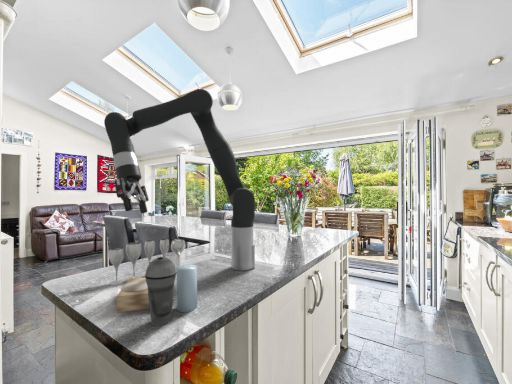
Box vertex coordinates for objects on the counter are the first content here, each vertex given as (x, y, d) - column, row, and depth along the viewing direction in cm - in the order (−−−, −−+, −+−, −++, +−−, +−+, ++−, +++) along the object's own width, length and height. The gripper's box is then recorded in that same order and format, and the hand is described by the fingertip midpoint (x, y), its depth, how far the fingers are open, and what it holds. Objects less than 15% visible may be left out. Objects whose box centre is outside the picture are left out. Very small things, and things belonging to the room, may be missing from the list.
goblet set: (111, 286, 85) (110, 247, 85) (107, 282, 90) (107, 244, 90) (187, 269, 104) (187, 237, 104) (181, 266, 108) (181, 235, 108)
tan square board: (168, 288, 83) (168, 274, 83) (164, 306, 70) (164, 290, 70) (129, 292, 80) (129, 277, 80) (116, 312, 67) (116, 295, 67)
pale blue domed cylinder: (196, 302, 72) (196, 263, 72) (197, 310, 67) (197, 269, 67) (177, 304, 71) (177, 265, 71) (176, 313, 66) (175, 271, 66)
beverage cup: (150, 314, 65) (150, 237, 65) (179, 313, 66) (179, 236, 66) (140, 329, 58) (139, 242, 58) (172, 328, 58) (172, 242, 59)
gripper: (124, 158, 81) (134, 206, 77) (148, 169, 95) (158, 210, 91) (102, 165, 81) (112, 213, 78) (130, 175, 95) (139, 216, 92)
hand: (137, 211), depth 85 cm, fingers open, 8 cm apart
